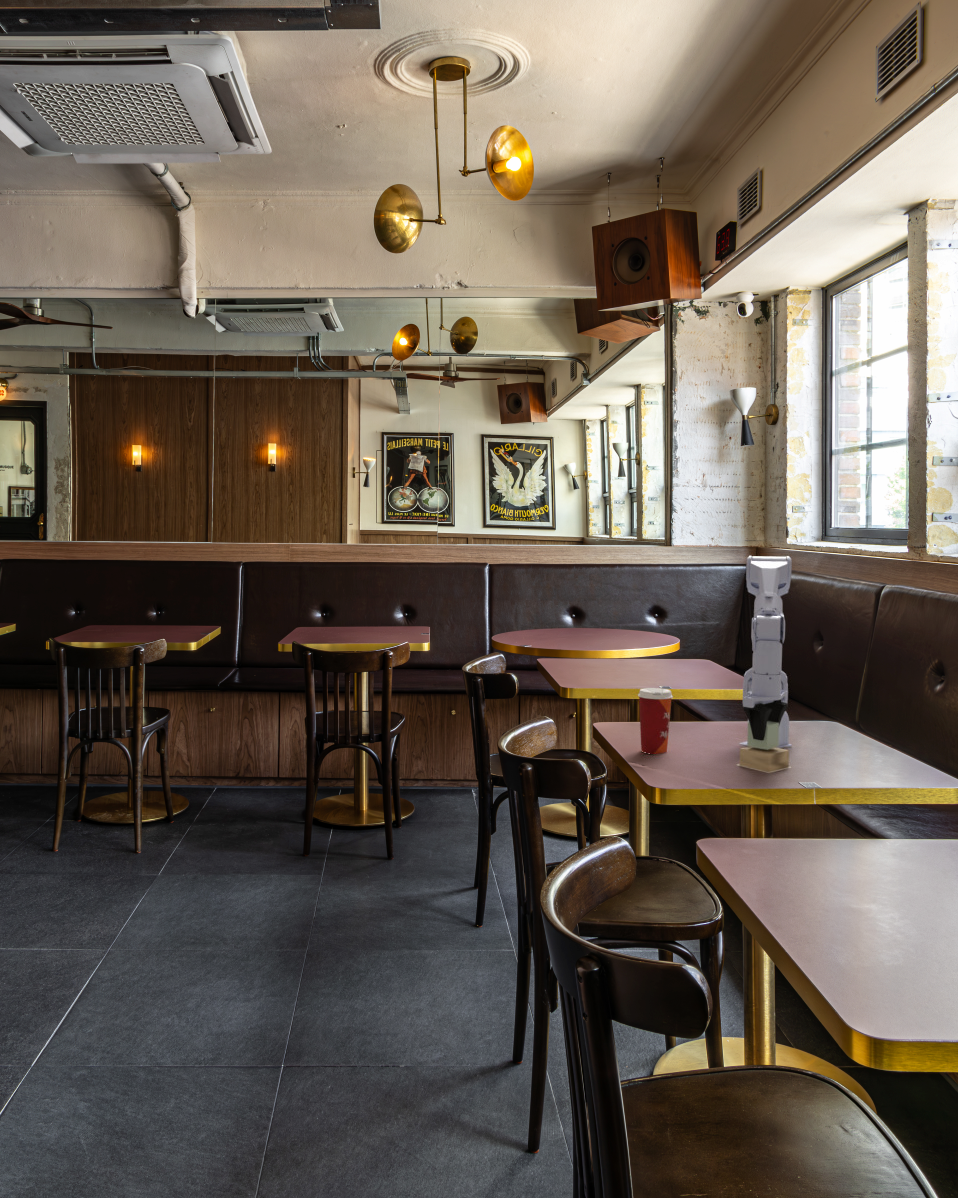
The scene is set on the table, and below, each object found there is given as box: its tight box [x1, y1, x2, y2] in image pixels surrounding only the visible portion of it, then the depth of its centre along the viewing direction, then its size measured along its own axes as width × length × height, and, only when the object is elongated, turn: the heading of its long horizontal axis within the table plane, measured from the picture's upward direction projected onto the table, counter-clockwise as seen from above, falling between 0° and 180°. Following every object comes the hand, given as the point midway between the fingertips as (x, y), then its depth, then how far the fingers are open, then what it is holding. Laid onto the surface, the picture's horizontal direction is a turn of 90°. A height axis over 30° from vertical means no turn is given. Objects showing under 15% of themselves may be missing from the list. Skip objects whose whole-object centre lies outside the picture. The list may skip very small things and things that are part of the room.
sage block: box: [746, 721, 779, 750], centre depth 181 cm, size 4×4×5 cm
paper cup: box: [637, 687, 674, 755], centre depth 195 cm, size 8×8×14 cm
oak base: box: [739, 746, 790, 773], centre depth 181 cm, size 7×7×4 cm
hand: (764, 738), depth 181 cm, fingers closed on sage block, 4 cm apart
